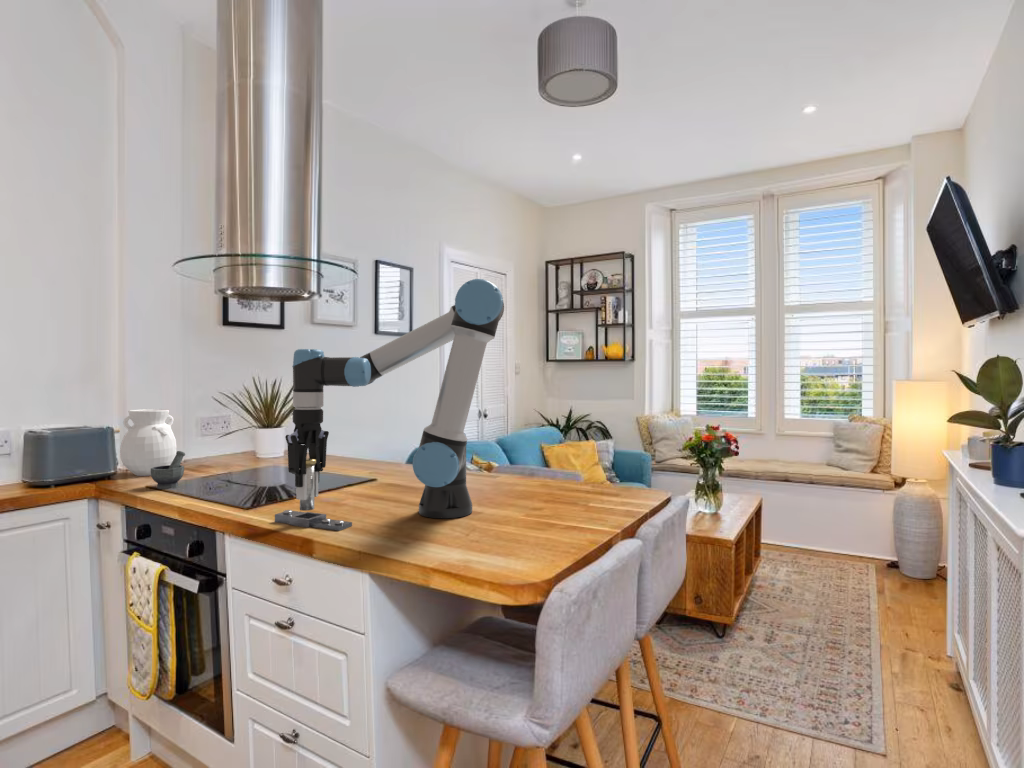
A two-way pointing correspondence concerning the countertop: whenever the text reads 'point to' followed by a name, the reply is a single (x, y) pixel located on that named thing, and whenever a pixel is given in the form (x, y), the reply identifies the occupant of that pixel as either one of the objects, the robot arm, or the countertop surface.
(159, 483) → the mortar and pestle
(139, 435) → the white handled vase
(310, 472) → the pin
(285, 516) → the grey mounting bracket
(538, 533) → the countertop surface
